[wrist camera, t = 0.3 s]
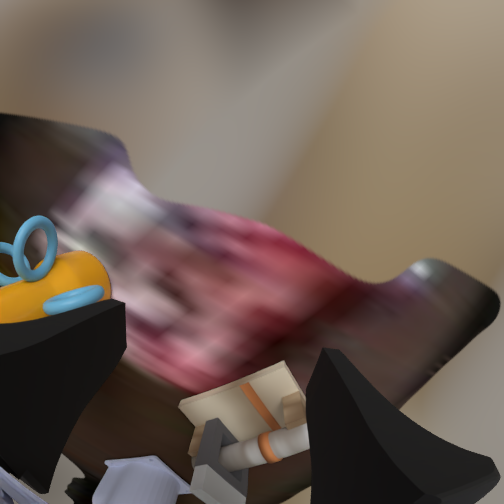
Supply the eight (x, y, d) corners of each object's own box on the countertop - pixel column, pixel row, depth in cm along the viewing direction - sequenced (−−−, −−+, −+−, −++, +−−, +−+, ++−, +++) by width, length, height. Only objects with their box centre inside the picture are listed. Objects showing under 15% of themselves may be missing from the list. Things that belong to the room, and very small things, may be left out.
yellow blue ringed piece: (169, 296, 20) (43, 421, 6) (106, 367, 22) (12, 470, 7) (74, 190, 19) (-79, 185, 5) (27, 273, 21) (-88, 315, 6)
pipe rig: (231, 457, 23) (226, 499, 17) (181, 400, 22) (163, 443, 16) (323, 426, 22) (335, 470, 16) (283, 360, 21) (290, 405, 15)
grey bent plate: (238, 456, 21) (231, 521, 13) (206, 420, 20) (188, 490, 12) (249, 452, 20) (245, 519, 13) (218, 417, 20) (203, 489, 12)
